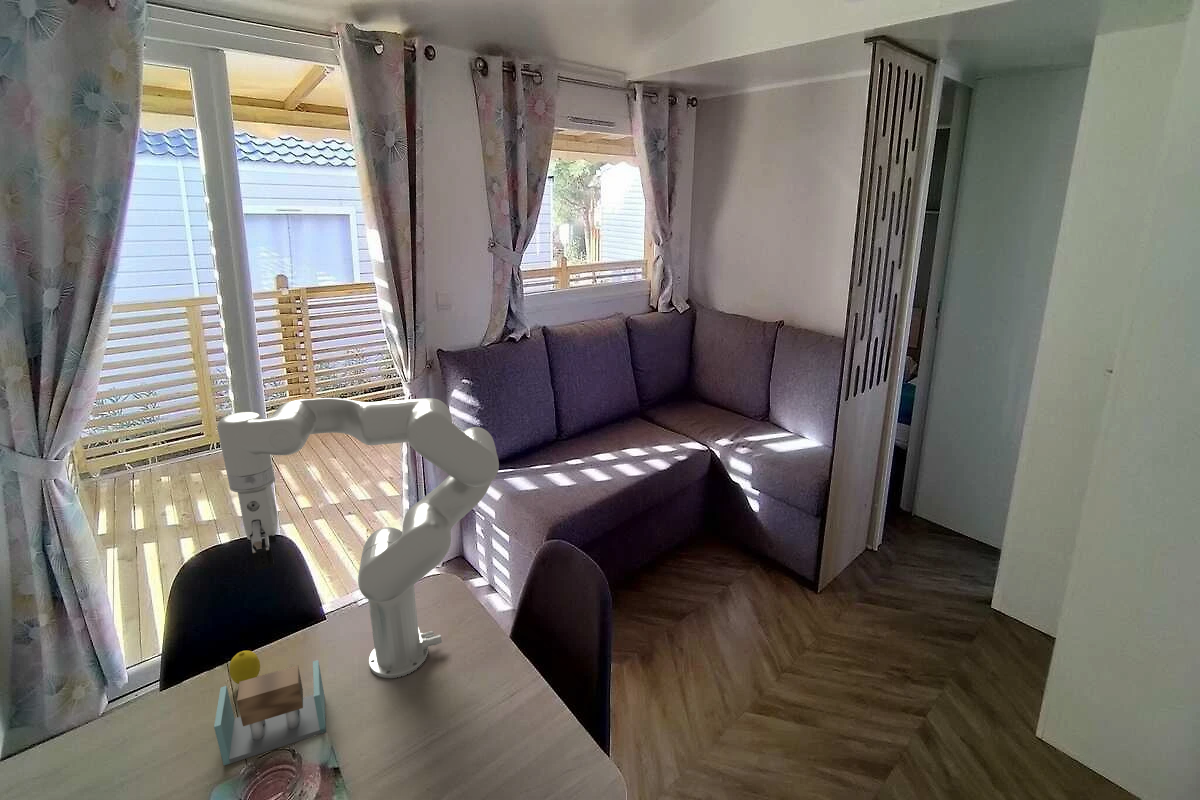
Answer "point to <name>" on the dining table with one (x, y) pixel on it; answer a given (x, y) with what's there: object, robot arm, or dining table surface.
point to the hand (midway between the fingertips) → (266, 554)
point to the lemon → (244, 666)
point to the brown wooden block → (270, 695)
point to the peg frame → (269, 725)
